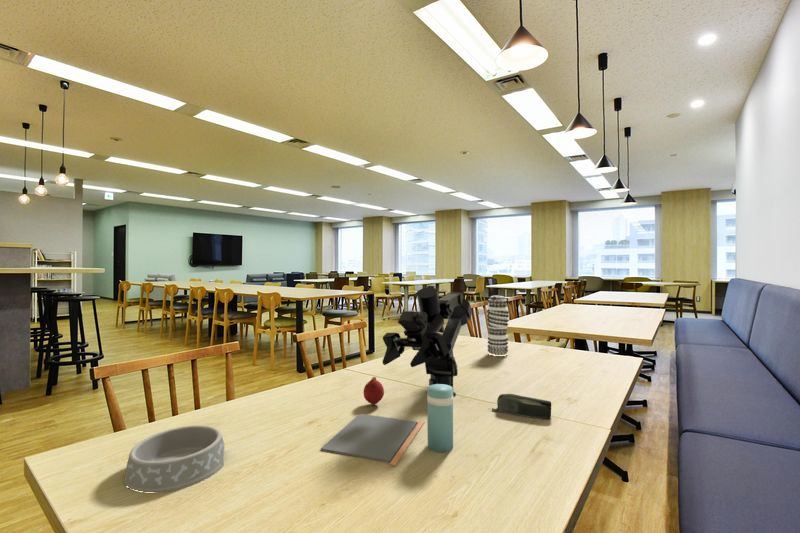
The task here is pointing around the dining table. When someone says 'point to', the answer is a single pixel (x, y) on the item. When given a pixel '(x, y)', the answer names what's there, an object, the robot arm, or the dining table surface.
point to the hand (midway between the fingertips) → (396, 364)
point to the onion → (373, 391)
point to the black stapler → (523, 406)
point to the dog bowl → (175, 459)
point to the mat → (371, 437)
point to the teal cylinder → (440, 418)
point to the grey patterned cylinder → (497, 325)
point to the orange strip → (406, 444)
